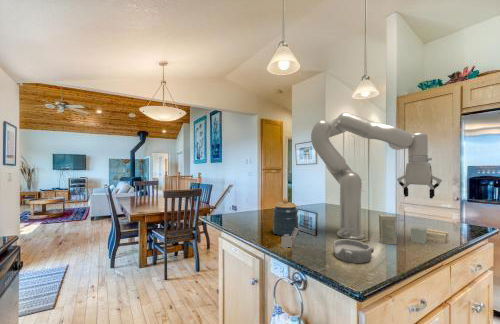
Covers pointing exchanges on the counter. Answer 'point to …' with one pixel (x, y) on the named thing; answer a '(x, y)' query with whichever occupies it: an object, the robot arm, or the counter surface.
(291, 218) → the canister
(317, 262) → the counter surface
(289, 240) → the lighter
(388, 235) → the skincare box
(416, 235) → the grey-green block
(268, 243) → the counter surface
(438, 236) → the beech block
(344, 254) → the dish
